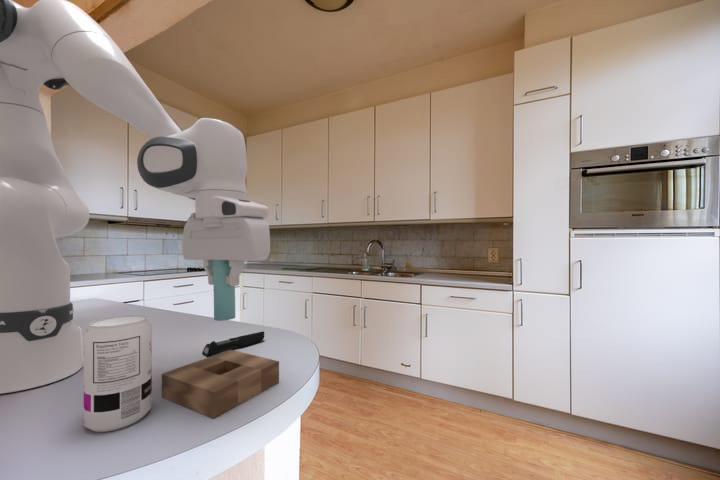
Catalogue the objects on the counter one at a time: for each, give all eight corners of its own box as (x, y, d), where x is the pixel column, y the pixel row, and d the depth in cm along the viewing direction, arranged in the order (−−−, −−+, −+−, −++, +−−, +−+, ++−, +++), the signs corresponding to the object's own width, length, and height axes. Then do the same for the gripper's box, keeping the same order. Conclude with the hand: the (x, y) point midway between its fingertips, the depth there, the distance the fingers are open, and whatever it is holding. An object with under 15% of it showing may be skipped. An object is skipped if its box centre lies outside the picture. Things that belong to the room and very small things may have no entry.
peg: (209, 319, 56) (208, 253, 56) (226, 315, 60) (225, 252, 60) (222, 321, 55) (221, 253, 55) (239, 317, 58) (238, 252, 58)
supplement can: (68, 431, 44) (68, 326, 44) (122, 402, 52) (122, 313, 53) (116, 437, 43) (116, 328, 43) (164, 406, 51) (163, 315, 51)
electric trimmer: (267, 343, 84) (267, 332, 84) (207, 358, 73) (207, 345, 73) (260, 341, 87) (260, 329, 87) (201, 354, 75) (201, 341, 75)
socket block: (161, 397, 54) (161, 374, 54) (230, 368, 66) (230, 349, 66) (213, 418, 47) (213, 392, 47) (279, 382, 60) (278, 361, 60)
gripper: (172, 212, 59) (173, 284, 59) (246, 204, 49) (248, 290, 49) (202, 214, 65) (203, 280, 65) (275, 207, 55) (276, 285, 55)
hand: (223, 285), depth 57 cm, fingers closed on peg, 4 cm apart
